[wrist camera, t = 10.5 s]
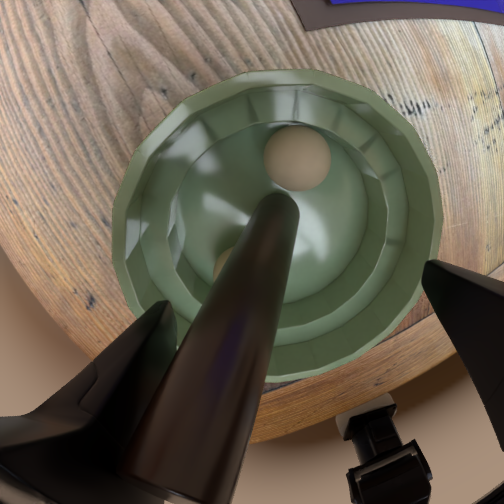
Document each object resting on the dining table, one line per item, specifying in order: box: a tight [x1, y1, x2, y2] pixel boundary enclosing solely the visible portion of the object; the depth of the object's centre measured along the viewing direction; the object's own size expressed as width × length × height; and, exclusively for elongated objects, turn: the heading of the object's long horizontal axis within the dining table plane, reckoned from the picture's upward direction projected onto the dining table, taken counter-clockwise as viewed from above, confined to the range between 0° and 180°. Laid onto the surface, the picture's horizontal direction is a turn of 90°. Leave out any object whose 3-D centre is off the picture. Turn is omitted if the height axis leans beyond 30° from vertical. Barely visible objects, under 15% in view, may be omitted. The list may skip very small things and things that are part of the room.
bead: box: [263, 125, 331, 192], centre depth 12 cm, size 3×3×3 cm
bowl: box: [112, 69, 443, 383], centre depth 13 cm, size 14×14×5 cm
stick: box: [116, 193, 300, 504], centre depth 9 cm, size 2×2×13 cm
